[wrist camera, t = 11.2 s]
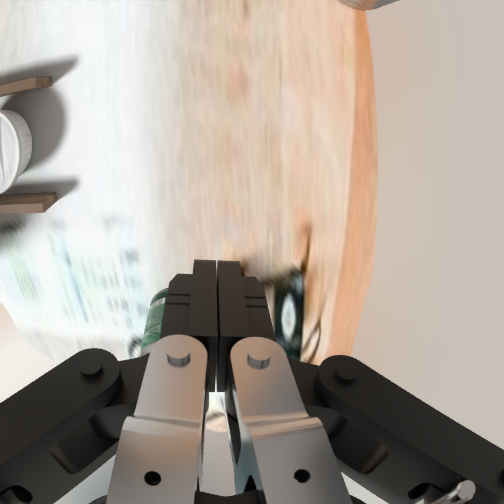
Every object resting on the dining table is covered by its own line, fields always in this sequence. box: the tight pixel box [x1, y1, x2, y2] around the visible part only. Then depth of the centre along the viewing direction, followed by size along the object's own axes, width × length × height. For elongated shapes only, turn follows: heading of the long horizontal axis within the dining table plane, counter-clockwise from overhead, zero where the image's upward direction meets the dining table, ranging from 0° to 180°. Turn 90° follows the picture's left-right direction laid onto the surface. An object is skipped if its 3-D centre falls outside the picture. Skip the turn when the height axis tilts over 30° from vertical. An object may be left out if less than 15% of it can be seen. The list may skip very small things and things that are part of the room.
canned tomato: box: [139, 289, 168, 357], centre depth 41 cm, size 8×8×11 cm
